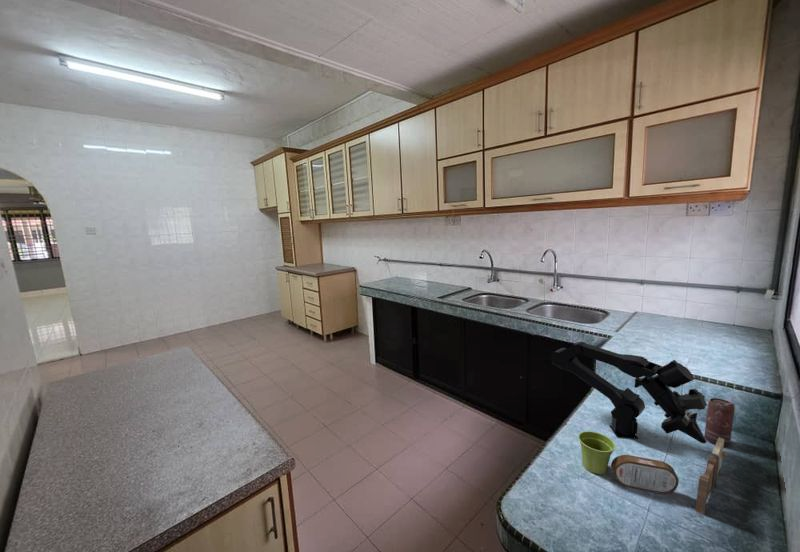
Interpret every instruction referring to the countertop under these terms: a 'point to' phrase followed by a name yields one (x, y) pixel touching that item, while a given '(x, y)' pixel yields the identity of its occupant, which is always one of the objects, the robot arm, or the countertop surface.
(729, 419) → the can
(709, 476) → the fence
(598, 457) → the plant pot
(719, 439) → the panel
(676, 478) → the tin
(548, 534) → the countertop surface
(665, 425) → the robot arm
